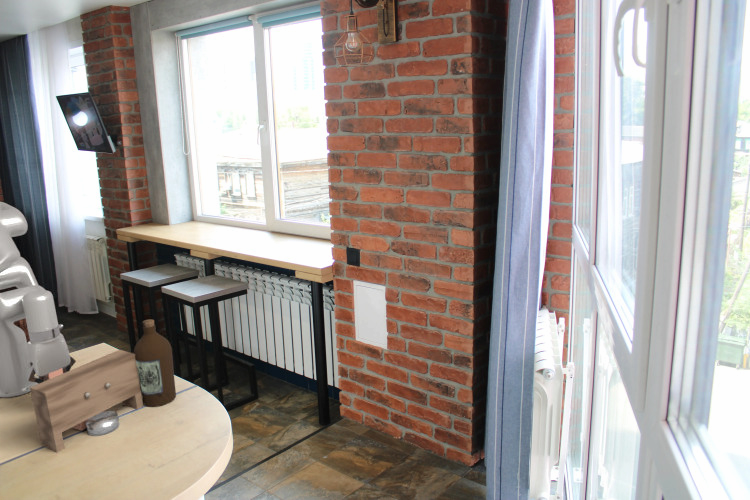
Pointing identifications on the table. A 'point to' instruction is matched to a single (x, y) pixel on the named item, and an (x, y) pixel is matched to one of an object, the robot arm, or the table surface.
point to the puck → (102, 423)
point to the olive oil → (155, 367)
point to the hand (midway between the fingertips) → (56, 392)
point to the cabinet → (84, 395)
